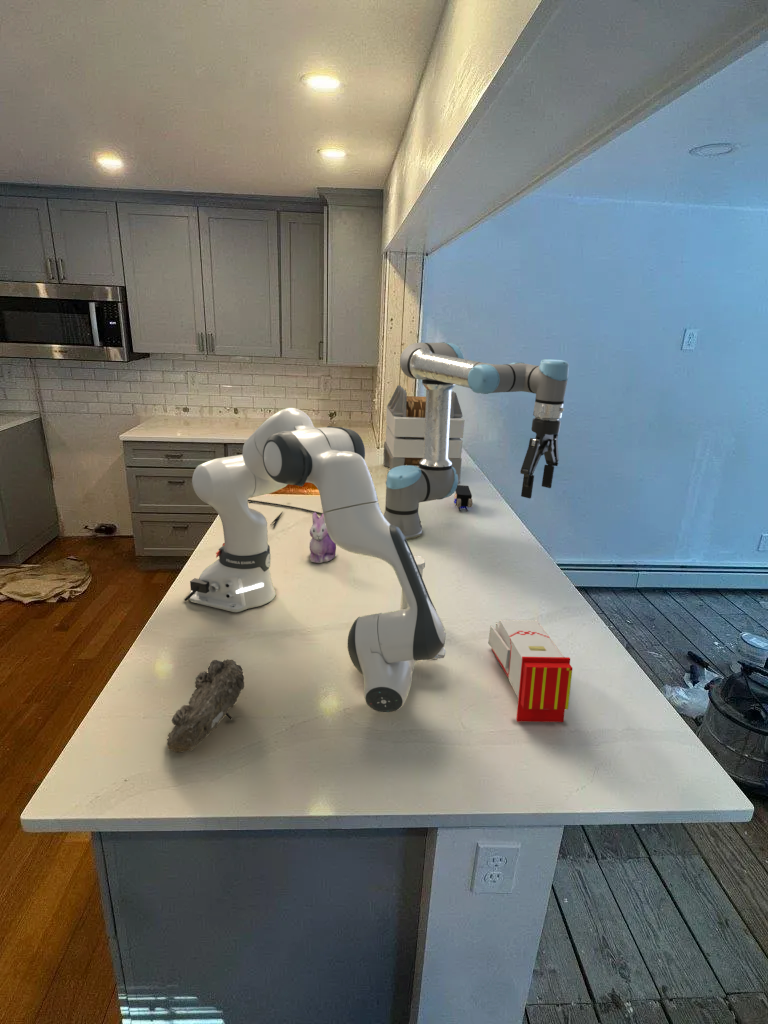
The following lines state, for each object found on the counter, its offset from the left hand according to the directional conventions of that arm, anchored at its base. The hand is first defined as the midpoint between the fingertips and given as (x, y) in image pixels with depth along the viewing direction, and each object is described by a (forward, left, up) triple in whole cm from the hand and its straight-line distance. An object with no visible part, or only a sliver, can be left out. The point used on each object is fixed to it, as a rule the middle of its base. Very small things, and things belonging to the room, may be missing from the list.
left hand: (403, 620), depth 133 cm
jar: (0, +14, -6) cm, 15 cm away
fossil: (-33, -33, -6) cm, 47 cm away
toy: (+27, -9, -6) cm, 29 cm away
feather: (-55, +75, -6) cm, 93 cm away
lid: (0, +14, +9) cm, 16 cm away
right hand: (+32, +44, +21) cm, 58 cm away
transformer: (-10, +149, -6) cm, 149 cm away
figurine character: (+11, +104, -6) cm, 104 cm away
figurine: (-31, +42, -6) cm, 52 cm away
